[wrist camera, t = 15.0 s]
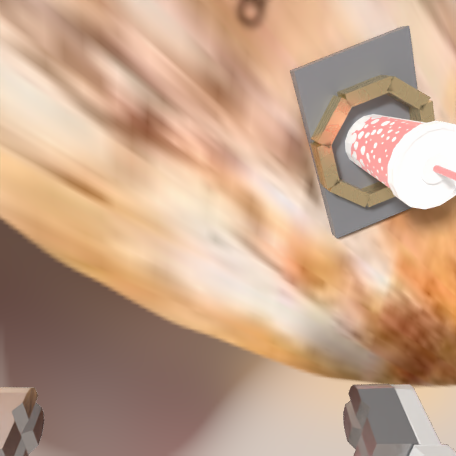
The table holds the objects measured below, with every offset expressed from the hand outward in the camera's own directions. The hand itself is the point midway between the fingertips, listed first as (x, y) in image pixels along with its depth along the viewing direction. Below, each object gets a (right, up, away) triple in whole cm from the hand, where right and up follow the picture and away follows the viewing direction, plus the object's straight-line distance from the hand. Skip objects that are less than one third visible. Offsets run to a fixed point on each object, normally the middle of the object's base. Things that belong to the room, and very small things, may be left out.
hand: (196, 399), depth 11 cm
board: (+13, +12, +27) cm, 32 cm away
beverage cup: (+13, +12, +26) cm, 32 cm away
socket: (+13, +12, +26) cm, 31 cm away
